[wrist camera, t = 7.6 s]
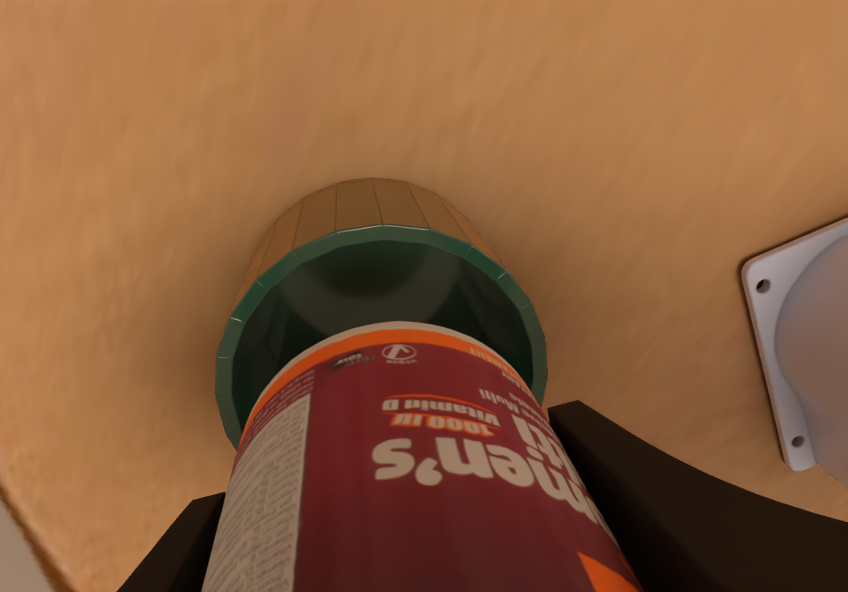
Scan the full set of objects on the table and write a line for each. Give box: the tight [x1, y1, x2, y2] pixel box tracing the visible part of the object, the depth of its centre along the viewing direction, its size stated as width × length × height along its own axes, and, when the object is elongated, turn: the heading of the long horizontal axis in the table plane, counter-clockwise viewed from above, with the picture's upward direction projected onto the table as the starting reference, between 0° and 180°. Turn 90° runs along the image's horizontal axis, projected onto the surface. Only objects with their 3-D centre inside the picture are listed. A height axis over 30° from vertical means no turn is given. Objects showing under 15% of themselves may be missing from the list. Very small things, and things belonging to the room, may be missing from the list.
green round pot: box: [215, 179, 548, 452], centre depth 19 cm, size 8×8×6 cm
